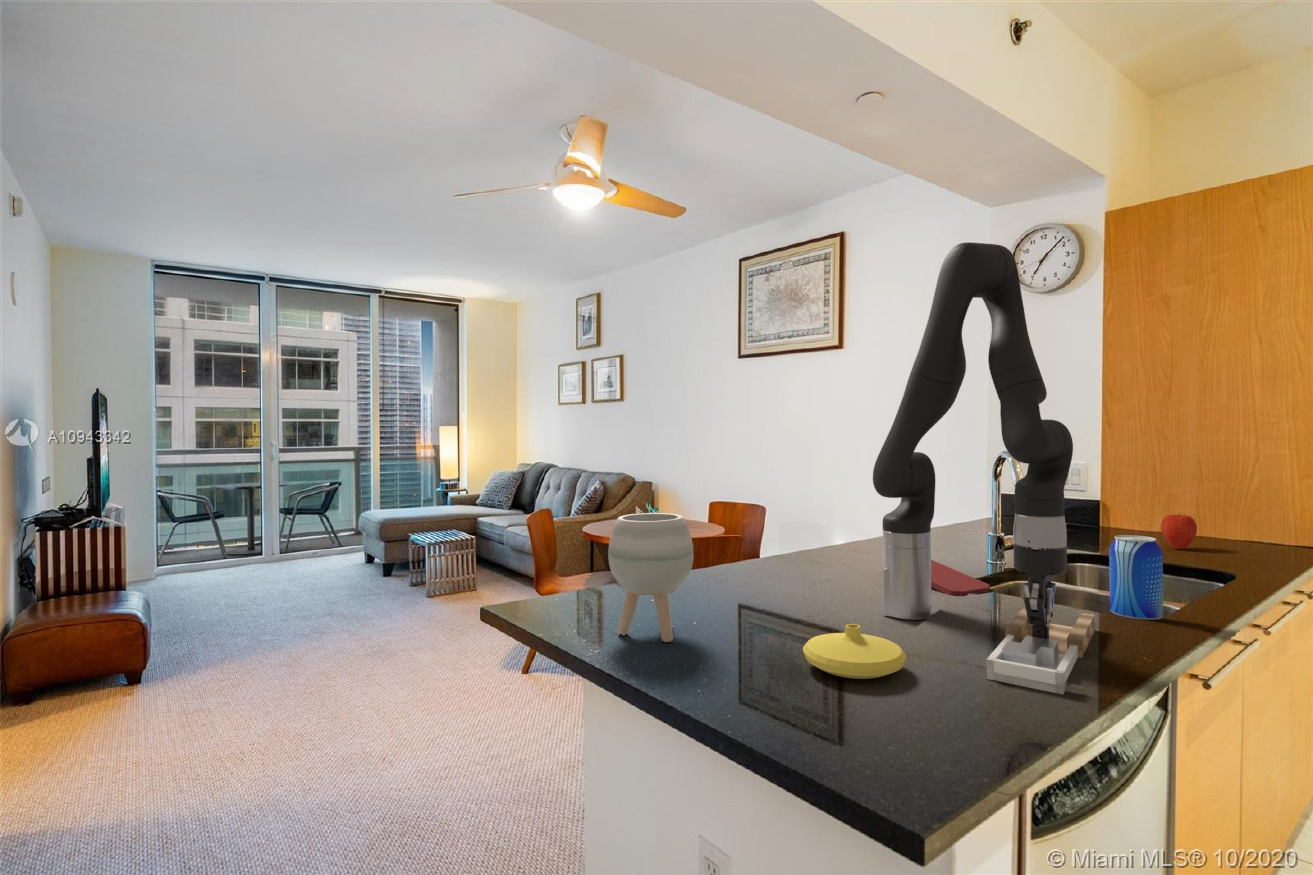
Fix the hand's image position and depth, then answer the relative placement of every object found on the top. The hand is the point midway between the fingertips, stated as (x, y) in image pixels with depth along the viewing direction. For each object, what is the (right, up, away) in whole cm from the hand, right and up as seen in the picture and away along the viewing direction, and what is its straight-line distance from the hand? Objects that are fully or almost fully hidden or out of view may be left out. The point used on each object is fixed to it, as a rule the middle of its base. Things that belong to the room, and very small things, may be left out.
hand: (1040, 647), depth 107 cm
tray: (-4, -2, -5) cm, 6 cm away
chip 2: (-2, -1, -3) cm, 4 cm away
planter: (-63, -3, +18) cm, 66 cm away
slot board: (+6, -2, +8) cm, 10 cm away
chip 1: (-6, -1, -6) cm, 9 cm away
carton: (+6, -2, +55) cm, 55 cm away
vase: (-31, -3, -2) cm, 31 cm away
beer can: (+31, -1, +21) cm, 38 cm away
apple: (+94, 0, +90) cm, 130 cm away
